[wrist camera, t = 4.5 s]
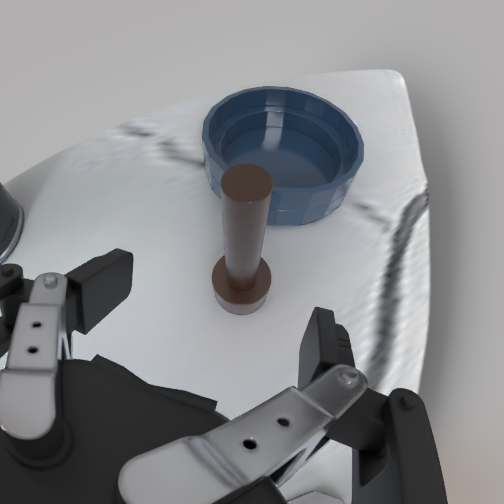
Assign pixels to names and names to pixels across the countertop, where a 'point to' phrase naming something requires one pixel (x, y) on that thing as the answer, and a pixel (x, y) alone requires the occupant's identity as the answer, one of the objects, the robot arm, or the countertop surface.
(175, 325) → the countertop surface
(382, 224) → the countertop surface
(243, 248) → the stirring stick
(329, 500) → the flask
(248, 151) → the mixing bowl
